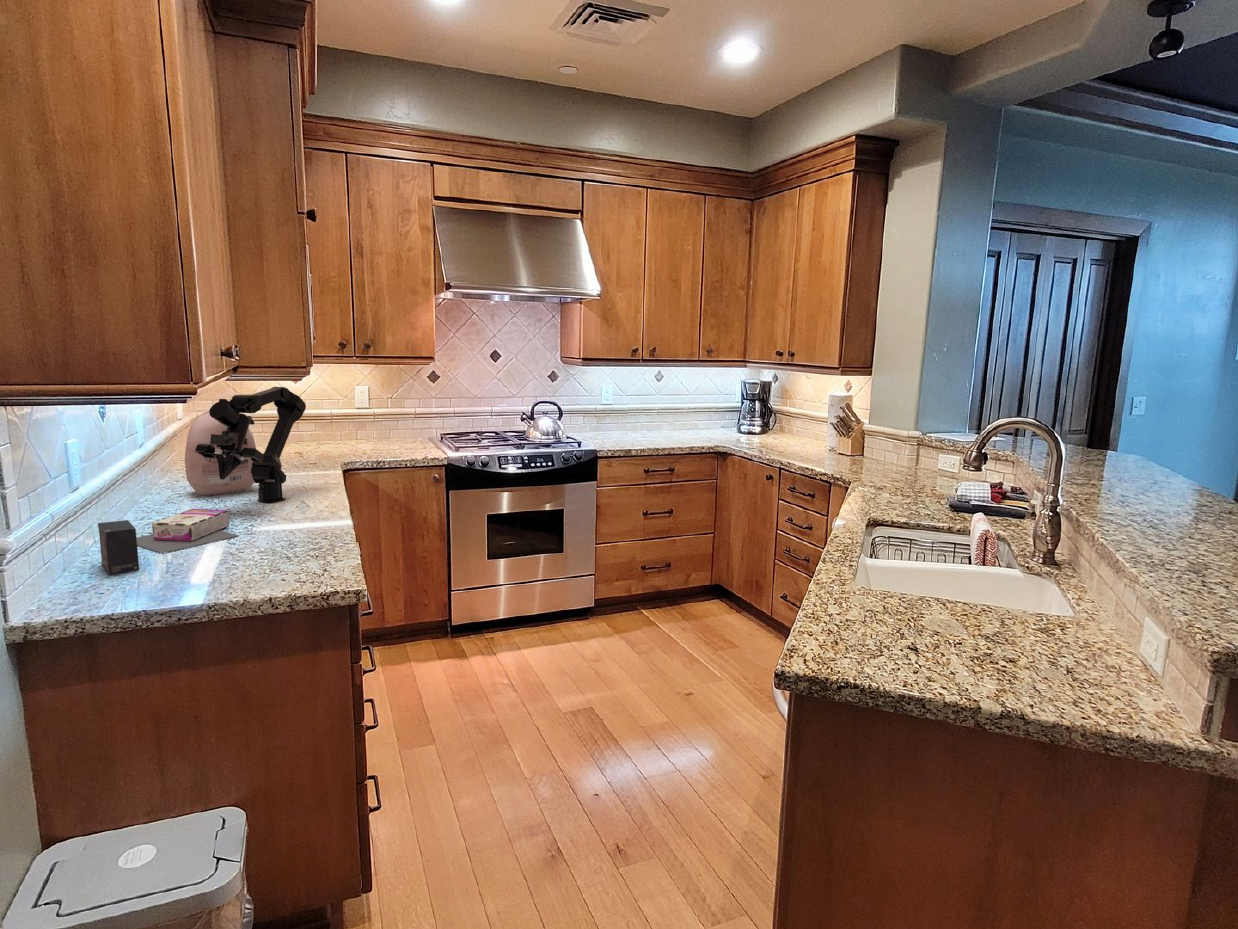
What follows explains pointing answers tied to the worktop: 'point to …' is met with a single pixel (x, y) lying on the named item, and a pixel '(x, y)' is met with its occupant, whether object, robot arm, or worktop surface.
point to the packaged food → (214, 460)
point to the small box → (118, 547)
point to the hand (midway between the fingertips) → (221, 479)
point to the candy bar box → (190, 525)
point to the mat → (180, 542)
